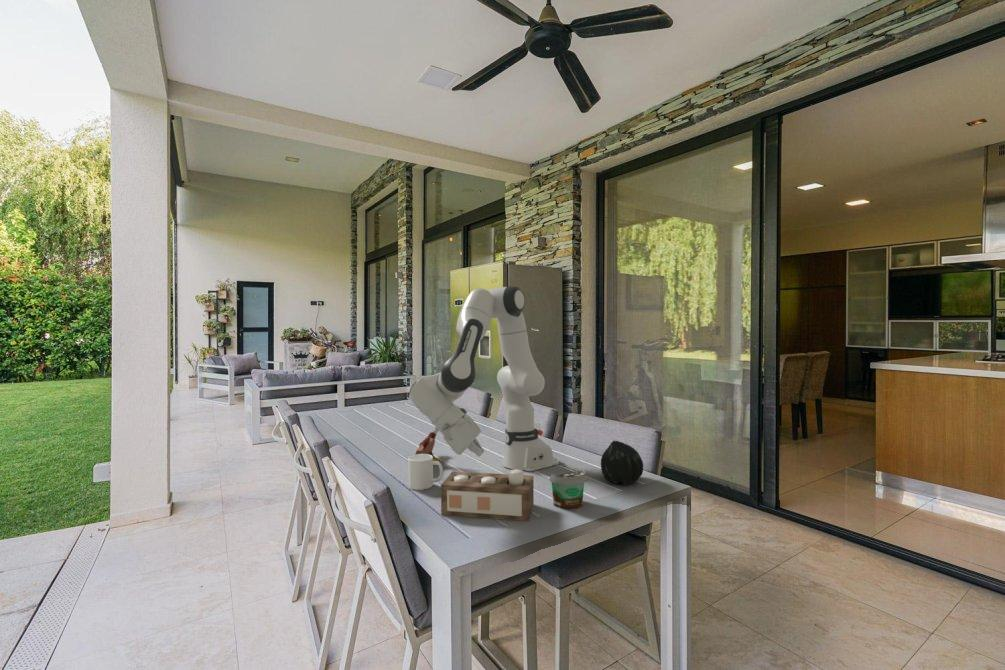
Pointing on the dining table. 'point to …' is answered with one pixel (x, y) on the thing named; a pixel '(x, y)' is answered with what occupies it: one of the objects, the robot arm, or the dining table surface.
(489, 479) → the white rounded cylinder
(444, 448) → the dining table surface
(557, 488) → the food container
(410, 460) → the cup
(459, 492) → the pattern card
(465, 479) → the white egg
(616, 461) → the squash
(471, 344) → the robot arm
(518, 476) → the white rounded cylinder
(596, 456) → the dining table surface
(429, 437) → the decorative bird
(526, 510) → the wooden peg block
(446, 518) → the dining table surface
